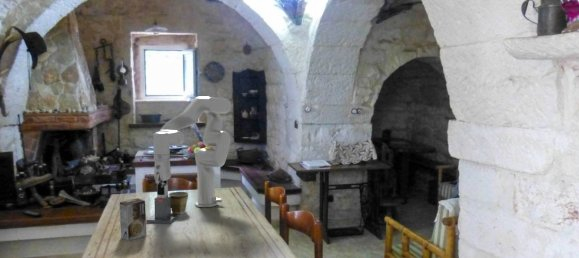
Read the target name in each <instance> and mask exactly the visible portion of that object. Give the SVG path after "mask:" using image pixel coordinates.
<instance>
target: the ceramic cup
mask: <svg viewBox="0 0 579 258" xmlns="http://www.w3.org/2000/svg"><path fill="white" fill-rule="evenodd" d="M168 196H171V213H174V214H179V215H183V214H185V213H186V211H187V205H188V204H187V203H188V200H189V199H188V198H189V192H187V191H173V192H170V193H168Z"/></svg>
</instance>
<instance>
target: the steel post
mask: <svg viewBox="0 0 579 258" xmlns="http://www.w3.org/2000/svg"><path fill="white" fill-rule="evenodd" d="M163 187H164V195H157V194H156V197H157V198H167V197H168V196H169V182H168V183H163Z"/></svg>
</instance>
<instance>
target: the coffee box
mask: <svg viewBox="0 0 579 258" xmlns="http://www.w3.org/2000/svg"><path fill="white" fill-rule="evenodd" d="M146 213H147V212H146V200H144V199H141V198H133V199H129V200H128V199H127V200H124V201H120V202H119V218H120V224H119V225H120V238H121V239H122V240H125V241H127V242H130V241H133V240H137V239H139V238H143V237H146V236H147V223H146V220H147V216H146V215H147V214H146Z"/></svg>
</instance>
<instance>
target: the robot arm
mask: <svg viewBox="0 0 579 258" xmlns="http://www.w3.org/2000/svg"><path fill="white" fill-rule="evenodd" d="M231 108H232V103H231V101H230V100H229V99H228V98H225V97H224V98H222V97H214V96H195V97H194V99H192V101H191V102H189V104H188V106H186V108H185V109H184V110H183V111H182V112H181V113H180V114H178V115H176V116H174V117H173V118H171V119H169V120H168V121H166V123H164V124H163V125H162V127H161V128H160V129H159V131H156V132H154V133H153V139H152V140H153V161H154V171H153V172H154V174H153V175H154V181H155V184H156V196H157V195H164V187H163V183H168V184H169V179H170V178H172V171H171V162H170V160H171V158H170V157H171V155H170V154H171V152H170V146H180V145H182V144H183V143H184V142H185V138H186V137H185V134H184V133H183V132H182V131H180V130H182V129H186V128H188V127H191V126H193V125H195V124H196V123H197V121H198V120H200V118H201V117H202V115H203V114H204V113H205V114H206V117H207V120H206V122H207V123H206V126H205V129H204V133H203V137H202V143H203V145H204V146H206V147H207V148H205V147H204V148H199V149H198V150H197V151H196V153H195V157H194V159H195V165H196V170H197V174H196V175H197V200H196V201H195V203H194V206H195V207H199V208H211V207H213V208H214V207H216V206H218V205H219V203H223V198H221V197H220V198H218V197H217V195H216V174H215V173H216V172H215V169H214V168H221V167H223V166H224V165H225V163H226V160H227V157H228V154H229V151H230V147H231V135H230V134H229V132H228V131H225V130H222V129H223V119H222V116H221V115H223V114H224V115H226V114H228V113H229V112H230V111H231ZM208 147H209V148H208ZM214 148H215V149H214Z"/></svg>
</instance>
